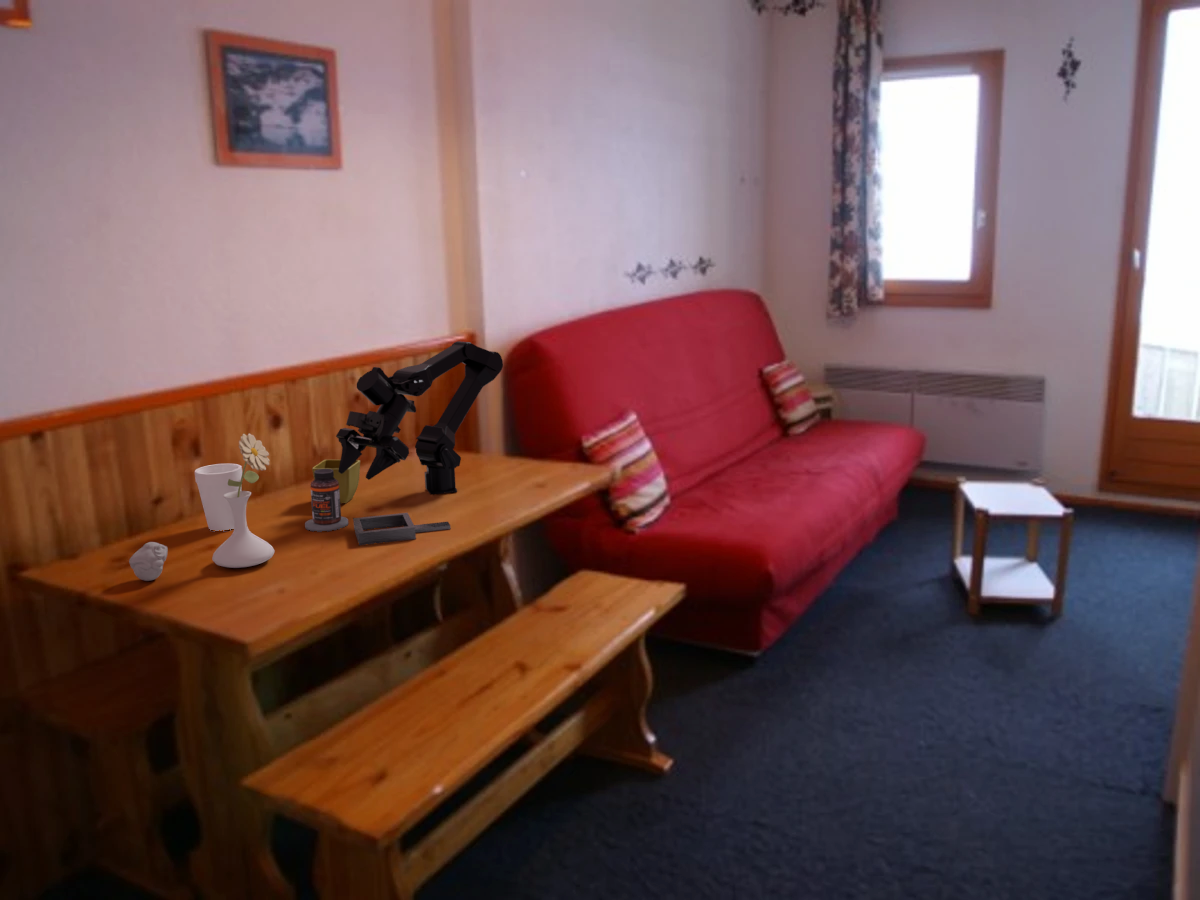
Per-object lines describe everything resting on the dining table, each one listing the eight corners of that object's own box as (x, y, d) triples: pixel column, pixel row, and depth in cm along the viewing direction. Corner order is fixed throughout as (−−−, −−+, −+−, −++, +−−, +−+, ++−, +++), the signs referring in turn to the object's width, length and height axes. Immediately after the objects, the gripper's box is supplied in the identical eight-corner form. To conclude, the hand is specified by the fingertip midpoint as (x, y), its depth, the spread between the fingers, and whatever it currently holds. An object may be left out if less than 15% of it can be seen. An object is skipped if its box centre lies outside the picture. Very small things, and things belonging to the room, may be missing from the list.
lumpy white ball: (177, 578, 192) (172, 542, 190) (140, 588, 187) (135, 551, 185) (162, 571, 196) (157, 535, 194) (125, 581, 191) (120, 545, 189)
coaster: (346, 517, 228) (346, 514, 228) (350, 529, 220) (349, 525, 220) (304, 522, 225) (304, 518, 225) (306, 533, 217) (305, 530, 217)
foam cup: (256, 523, 225) (251, 465, 222) (225, 535, 217) (218, 475, 214) (223, 519, 229) (217, 462, 226) (191, 530, 221) (184, 471, 218)
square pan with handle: (444, 519, 225) (444, 508, 224) (454, 534, 214) (453, 523, 214) (354, 529, 219) (353, 518, 219) (359, 545, 209) (358, 533, 208)
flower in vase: (240, 577, 192) (226, 445, 186) (200, 567, 198) (185, 439, 192) (294, 556, 203) (282, 432, 197) (255, 547, 209) (242, 426, 203)
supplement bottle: (310, 526, 220) (305, 474, 217) (316, 517, 225) (312, 467, 223) (338, 525, 220) (334, 473, 217) (344, 517, 225) (340, 466, 223)
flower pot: (363, 496, 245) (360, 459, 243) (351, 506, 237) (348, 468, 235) (327, 496, 246) (324, 459, 244) (314, 506, 238) (311, 468, 236)
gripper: (339, 392, 232) (303, 450, 226) (395, 400, 221) (358, 461, 215) (369, 420, 240) (335, 477, 234) (424, 429, 229) (390, 489, 223)
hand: (353, 475), depth 227 cm, fingers open, 9 cm apart
